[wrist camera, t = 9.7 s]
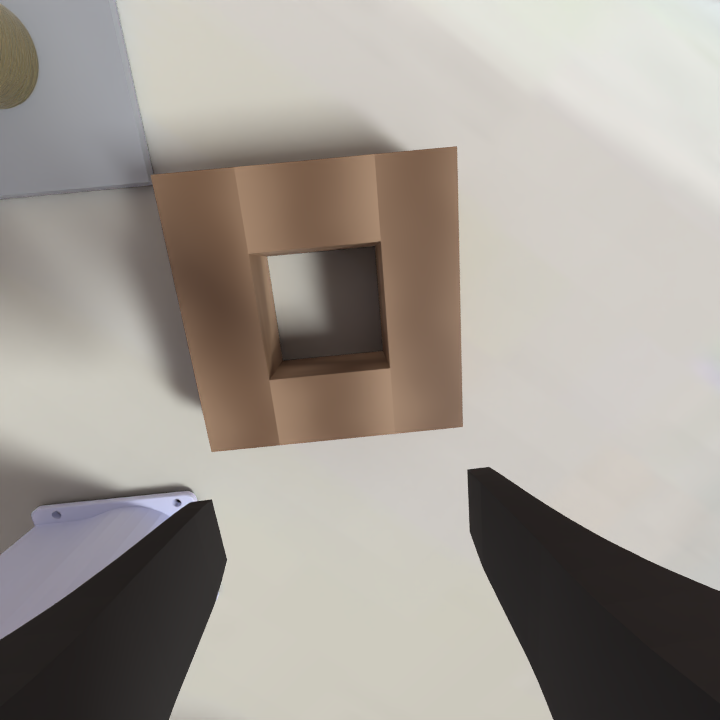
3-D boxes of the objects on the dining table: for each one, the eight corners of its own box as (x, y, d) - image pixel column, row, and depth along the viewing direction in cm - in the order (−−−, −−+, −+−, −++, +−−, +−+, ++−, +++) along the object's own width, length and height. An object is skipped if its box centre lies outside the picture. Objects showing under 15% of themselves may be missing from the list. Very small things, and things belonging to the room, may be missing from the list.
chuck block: (234, 421, 20) (211, 451, 17) (189, 193, 17) (150, 175, 14) (443, 400, 20) (462, 426, 17) (435, 170, 17) (456, 146, 14)
